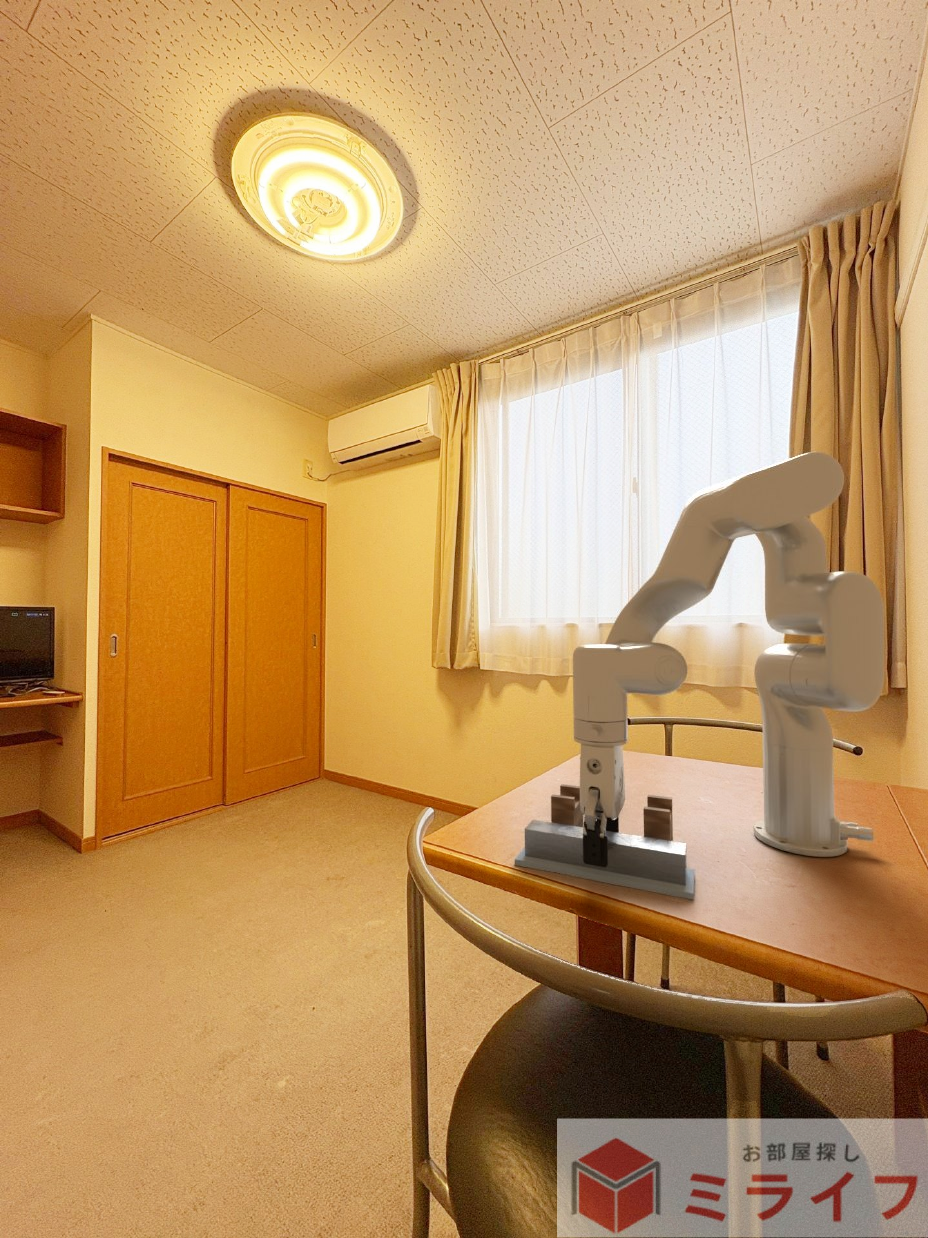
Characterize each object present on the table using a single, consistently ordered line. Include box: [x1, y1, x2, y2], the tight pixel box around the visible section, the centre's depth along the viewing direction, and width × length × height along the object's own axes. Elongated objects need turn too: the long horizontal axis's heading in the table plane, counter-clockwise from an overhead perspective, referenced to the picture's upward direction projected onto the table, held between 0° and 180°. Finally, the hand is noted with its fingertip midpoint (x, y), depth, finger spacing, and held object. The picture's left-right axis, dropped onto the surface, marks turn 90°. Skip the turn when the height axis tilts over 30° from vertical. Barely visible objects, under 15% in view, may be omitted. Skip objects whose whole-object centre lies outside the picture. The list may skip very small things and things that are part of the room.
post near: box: [643, 794, 674, 841], centre depth 79 cm, size 4×7×8 cm, turn 155°
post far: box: [550, 783, 584, 827], centre depth 84 cm, size 4×7×8 cm, turn 155°
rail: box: [524, 819, 687, 886], centre depth 74 cm, size 22×4×4 cm, turn 65°
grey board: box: [514, 846, 695, 901], centre depth 74 cm, size 24×7×1 cm, turn 65°
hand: (602, 850), depth 74 cm, fingers open, 9 cm apart
